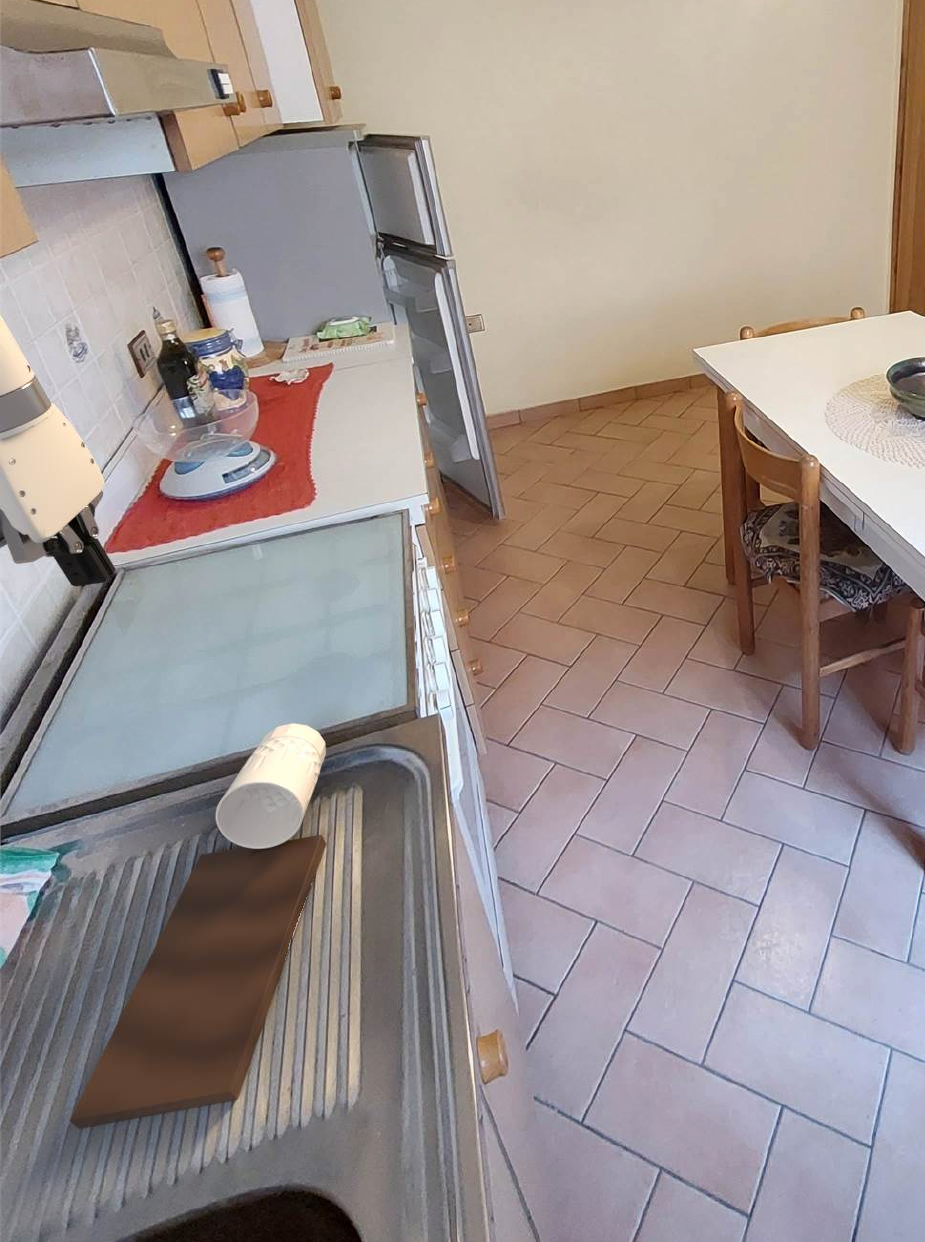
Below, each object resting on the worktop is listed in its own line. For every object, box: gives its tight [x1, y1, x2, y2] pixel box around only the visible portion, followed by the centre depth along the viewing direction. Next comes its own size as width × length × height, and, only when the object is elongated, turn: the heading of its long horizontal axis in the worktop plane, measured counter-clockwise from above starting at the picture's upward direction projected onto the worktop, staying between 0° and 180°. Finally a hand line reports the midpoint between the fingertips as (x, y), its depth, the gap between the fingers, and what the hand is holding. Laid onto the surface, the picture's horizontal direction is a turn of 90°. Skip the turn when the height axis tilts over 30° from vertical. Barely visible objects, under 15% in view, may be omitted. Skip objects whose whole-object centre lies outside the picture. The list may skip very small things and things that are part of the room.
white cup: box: [215, 722, 327, 849], centre depth 80 cm, size 8×8×10 cm
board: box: [69, 834, 327, 1129], centre depth 68 cm, size 21×12×2 cm, turn 6°
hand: (94, 578), depth 73 cm, fingers closed
